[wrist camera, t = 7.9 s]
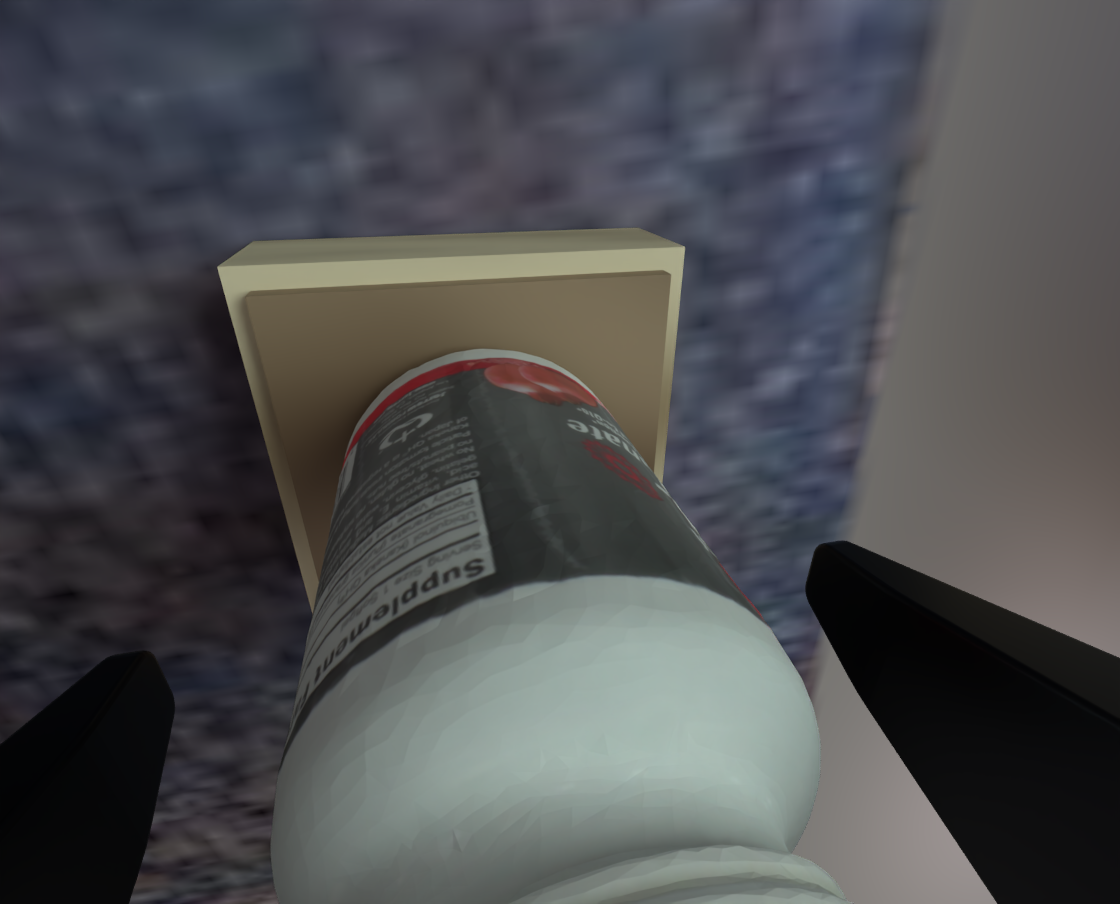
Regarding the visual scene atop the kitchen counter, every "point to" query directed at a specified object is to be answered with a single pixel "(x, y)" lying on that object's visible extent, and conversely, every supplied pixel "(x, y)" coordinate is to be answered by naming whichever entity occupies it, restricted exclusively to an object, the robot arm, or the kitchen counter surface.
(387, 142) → the kitchen counter surface
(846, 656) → the robot arm
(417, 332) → the plinth
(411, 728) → the pill bottle
